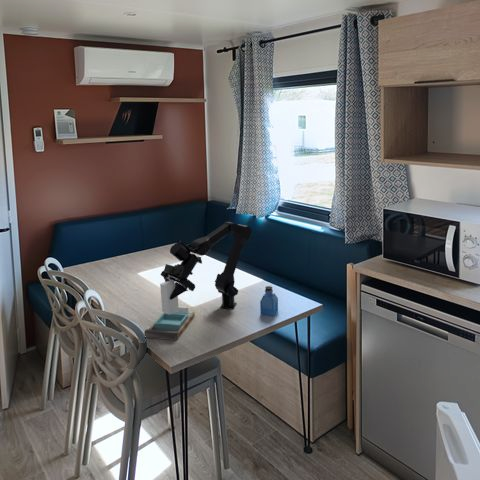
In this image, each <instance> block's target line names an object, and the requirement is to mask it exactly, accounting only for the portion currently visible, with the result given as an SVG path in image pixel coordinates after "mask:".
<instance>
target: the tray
mask: <svg viewBox="0 0 480 480" xmlns="http://www.w3.org/2000/svg"><path fill="white" fill-rule="evenodd" d="M178 307H179V311H178V312H175V313H172V314H169V315H168V314H167V313H164V312H163V313H162V314H161V315H160V316H159V317H158V318H157V319H156V320H157V321H156V320H155V321H156V322H155V321H154V322H153V324H154V330H167V331H178V330H179V329H180V328H181V326H182V325H183V324H184V323H185V321H186V320H187V319H188V317H189V316H190V315H191V313H192V312H189V310H190V309H189V306H180V305H178Z"/></svg>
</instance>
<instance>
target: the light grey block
mask: <svg viewBox="0 0 480 480" xmlns="http://www.w3.org/2000/svg"><path fill="white" fill-rule="evenodd" d="M159 285H160V286H159V287H160V288H159V289H160V297H161V299H160V300H161V309H162V310H161V311H162V312H163V313H164V312H165V313H167V314H168V315H169V314H172V313H175V312H178V311H179V307H178V306H179V295H178V296H177V297H175V298H174V299H172V300H170V299H169V298H170V296H171V294H172V292H173V290H174V289H175V282H172V281H167V282H165V281H164V282H162V283H159Z"/></svg>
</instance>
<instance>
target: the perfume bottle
mask: <svg viewBox="0 0 480 480" xmlns="http://www.w3.org/2000/svg"><path fill="white" fill-rule="evenodd" d="M264 288H265V289H264V294H263V295H262V297H261V299H260V301H259V305H260V307H259V311H260V315H261V314H262V316H269V315H270V317H274V316H275V315H276V314H277V313H278V312H279V299H278V298H279V297H278V296H277V295H276V293H274V289H273V286H271V285H268V286H265V287H264ZM277 311H278V312H277Z"/></svg>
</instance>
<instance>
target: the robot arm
mask: <svg viewBox="0 0 480 480" xmlns="http://www.w3.org/2000/svg"><path fill="white" fill-rule="evenodd" d="M230 233H232V240H233V241H232V245H231V249H230V251H229V255H228V257H227V260H226V263H225V266H224V268H223V271H222V272H221V273H217V275H216V278H215V281H214V286H215V289H216V290H217V292H218V293H219V294H221V302H222V303H221V305H220V308H221V309H232V310H233V309H235V307H236V305H237V302H235V297H236V296H237V295H238V294H239V289H237V288H236V286H235V272H236V269H237V266H238V263H239V260H240V257H241V255H242V251H243V248H244V245H246V244H247V243H248V242H249V240H250V238H251V236H252V234H253V230H252V228H251V226H249V225H244V224H240V223H239V224H236V223H234V222H230V221H225V222H223V224H222V225H220V226H219V227H218V228H216V229H215V230H213V231H212V232H210V233H209V234H207V235H206V236H203V237H200V238H197V239H194V240H192V241H191V243H189V244H185V243H184V241H181V240H178V242H176V243H174V244H173V245H172V246H171V247H170V249H169V252H170V254H171V255H172V256H173V257H175V258H176V259H177V260H178V261H179V262H180V264H179V263H178V264H175V265H172V264H167V263H166V264H165V266H164V269H163V270H162V271H161V273H160V276H161V277H162V278H163V279H164V282H167V281H172V282H175V289H174V290H173V292H172V294H171V296H170V298H169V299H170V300H172V299H174V298H175V297H177V296H178V297H179V295H181V294H183V293H185V292H188V291H191V292H194V291H195V289H196V284H195V283H193V282H192V281H191V280H190V279H188V277H189V276H192V275H193V274H194V272H193V270H194V268H195V267H196V265H197V264H198V263H199V264H203V260H202V257H203V256H205V255H207V253H208V252H210V250H211V249H212V247H213V245H215V244H216V243H218V242H219V241H220V240H222V239H223V238H225V237H226V236H227V235H229V234H230Z"/></svg>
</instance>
